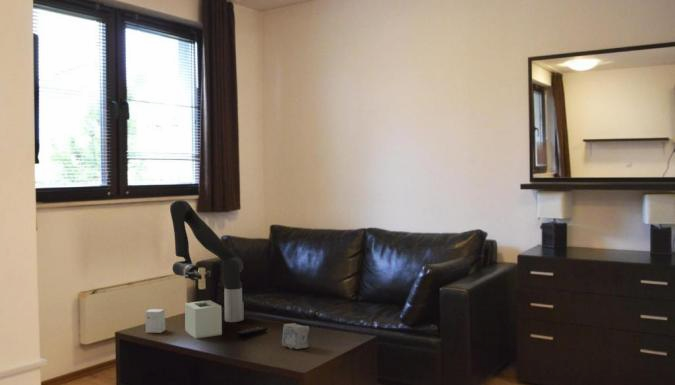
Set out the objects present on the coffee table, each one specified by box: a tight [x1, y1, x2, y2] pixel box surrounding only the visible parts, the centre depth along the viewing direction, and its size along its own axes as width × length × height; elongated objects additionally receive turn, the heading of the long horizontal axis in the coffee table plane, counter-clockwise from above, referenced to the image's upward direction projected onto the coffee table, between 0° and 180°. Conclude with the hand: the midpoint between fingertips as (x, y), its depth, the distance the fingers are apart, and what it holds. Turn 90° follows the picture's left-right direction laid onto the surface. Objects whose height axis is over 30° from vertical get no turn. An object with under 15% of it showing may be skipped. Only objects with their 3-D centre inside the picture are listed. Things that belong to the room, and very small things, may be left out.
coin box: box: [184, 299, 223, 340], centre depth 295 cm, size 13×16×14 cm
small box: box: [144, 308, 166, 334], centre depth 298 cm, size 8×6×10 cm
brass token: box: [197, 267, 206, 290], centre depth 295 cm, size 2×3×10 cm
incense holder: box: [281, 322, 310, 350], centre depth 269 cm, size 10×8×10 cm
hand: (203, 276), depth 292 cm, fingers closed on brass token, 2 cm apart
